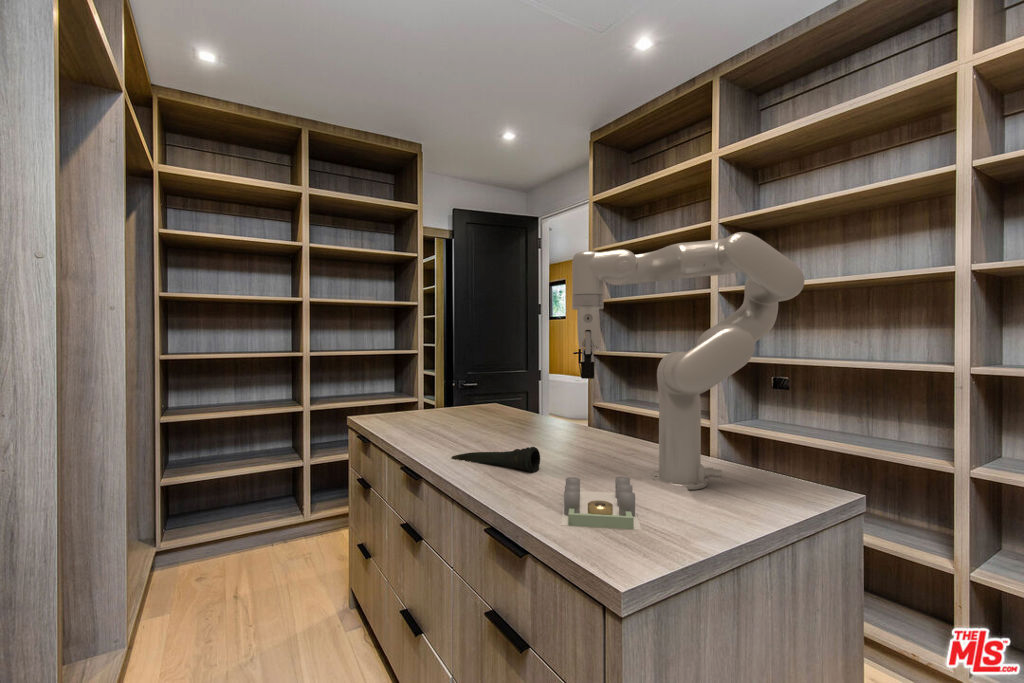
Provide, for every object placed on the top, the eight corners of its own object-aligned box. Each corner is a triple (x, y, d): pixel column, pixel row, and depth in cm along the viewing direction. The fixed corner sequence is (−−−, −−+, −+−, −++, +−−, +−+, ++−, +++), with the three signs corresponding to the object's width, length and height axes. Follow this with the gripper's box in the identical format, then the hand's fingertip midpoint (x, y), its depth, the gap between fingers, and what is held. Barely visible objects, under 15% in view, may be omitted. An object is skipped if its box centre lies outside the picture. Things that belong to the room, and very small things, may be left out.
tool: (543, 470, 128) (543, 445, 128) (529, 475, 122) (529, 449, 122) (465, 455, 144) (465, 433, 144) (450, 459, 138) (450, 436, 138)
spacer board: (629, 498, 104) (630, 474, 104) (641, 536, 84) (641, 507, 84) (565, 495, 106) (565, 472, 106) (561, 531, 86) (561, 502, 86)
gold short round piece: (612, 514, 91) (612, 500, 91) (613, 524, 87) (613, 509, 87) (587, 513, 92) (587, 499, 92) (587, 522, 87) (587, 507, 87)
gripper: (604, 300, 109) (604, 381, 109) (602, 305, 124) (602, 376, 124) (571, 300, 110) (571, 380, 110) (572, 305, 125) (572, 375, 125)
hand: (587, 378), depth 117 cm, fingers closed
